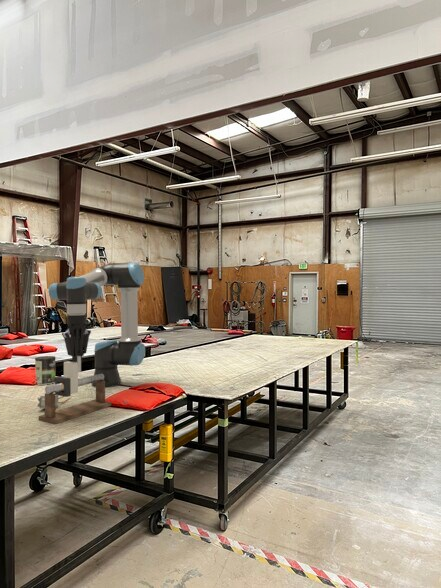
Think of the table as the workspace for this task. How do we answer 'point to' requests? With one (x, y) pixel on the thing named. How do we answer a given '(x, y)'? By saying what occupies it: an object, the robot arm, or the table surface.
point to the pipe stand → (74, 410)
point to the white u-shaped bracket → (72, 375)
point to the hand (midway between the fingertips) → (77, 371)
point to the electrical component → (42, 401)
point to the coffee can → (45, 370)
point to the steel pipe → (81, 382)
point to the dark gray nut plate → (66, 386)
